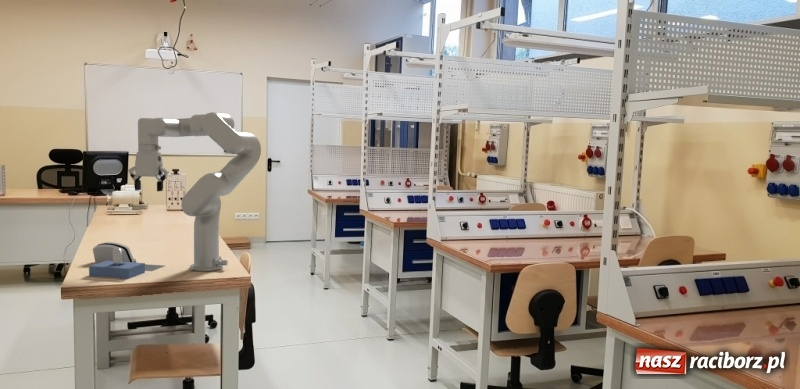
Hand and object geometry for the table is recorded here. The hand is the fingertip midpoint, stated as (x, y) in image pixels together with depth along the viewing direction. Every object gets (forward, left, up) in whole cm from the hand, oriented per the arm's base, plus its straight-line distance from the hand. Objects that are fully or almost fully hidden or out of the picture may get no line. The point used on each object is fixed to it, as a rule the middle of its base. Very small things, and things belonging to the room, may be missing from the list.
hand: (148, 190), depth 233 cm
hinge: (+14, +3, -31) cm, 34 cm away
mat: (-2, +8, -30) cm, 31 cm away
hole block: (0, +21, -30) cm, 37 cm away
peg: (0, +21, -30) cm, 37 cm away
